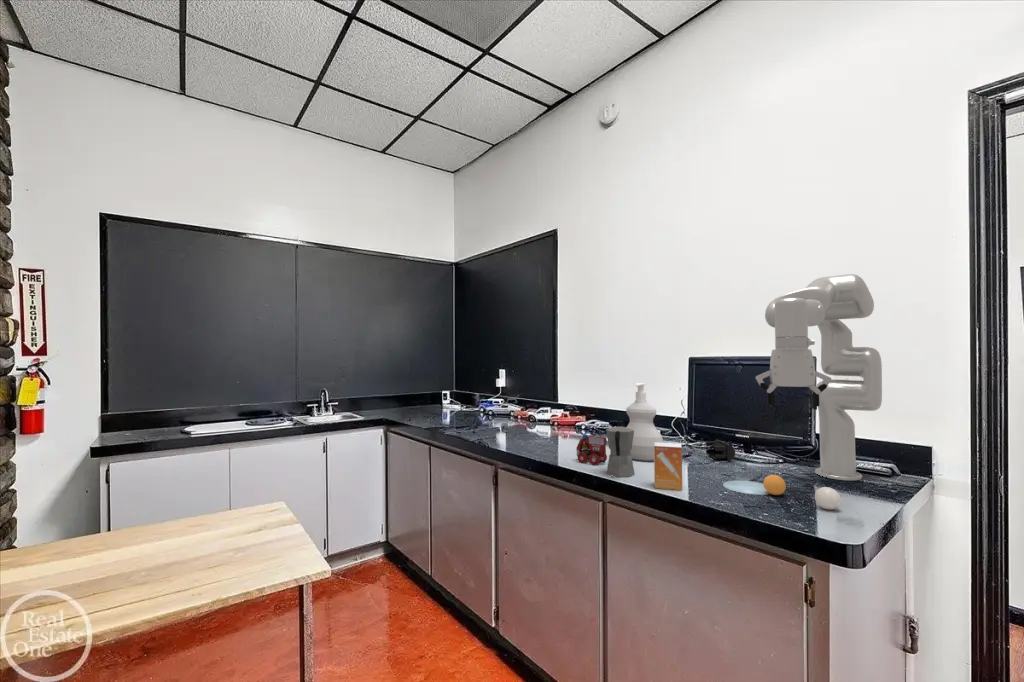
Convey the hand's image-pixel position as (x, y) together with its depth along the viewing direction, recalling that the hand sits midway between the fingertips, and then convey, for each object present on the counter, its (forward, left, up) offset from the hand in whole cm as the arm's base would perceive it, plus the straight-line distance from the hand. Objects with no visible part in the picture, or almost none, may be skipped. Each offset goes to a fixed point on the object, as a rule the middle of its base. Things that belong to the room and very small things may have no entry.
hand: (792, 408), depth 121 cm
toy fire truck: (+15, -66, -26) cm, 73 cm away
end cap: (-30, -45, -26) cm, 60 cm away
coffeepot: (+18, -48, -26) cm, 57 cm away
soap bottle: (-5, -61, -26) cm, 66 cm away
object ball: (-5, -9, -23) cm, 25 cm away
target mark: (-5, -17, -26) cm, 31 cm away
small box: (+15, -30, -26) cm, 42 cm away
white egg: (-5, +5, -23) cm, 24 cm away
